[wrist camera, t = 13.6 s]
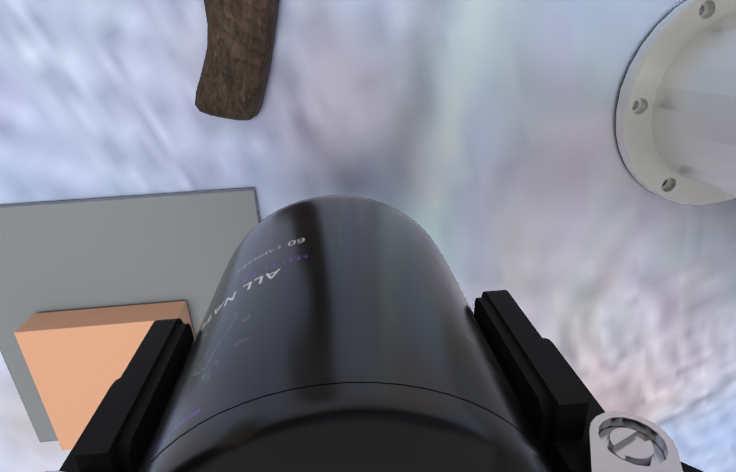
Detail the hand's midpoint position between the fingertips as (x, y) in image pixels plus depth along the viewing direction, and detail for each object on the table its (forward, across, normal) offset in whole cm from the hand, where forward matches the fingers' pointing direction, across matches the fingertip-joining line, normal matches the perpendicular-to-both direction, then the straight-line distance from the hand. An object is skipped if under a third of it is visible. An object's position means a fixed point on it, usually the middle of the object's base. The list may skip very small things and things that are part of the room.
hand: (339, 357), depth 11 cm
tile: (+15, +14, +7) cm, 22 cm away
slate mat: (+17, +13, +9) cm, 23 cm away
